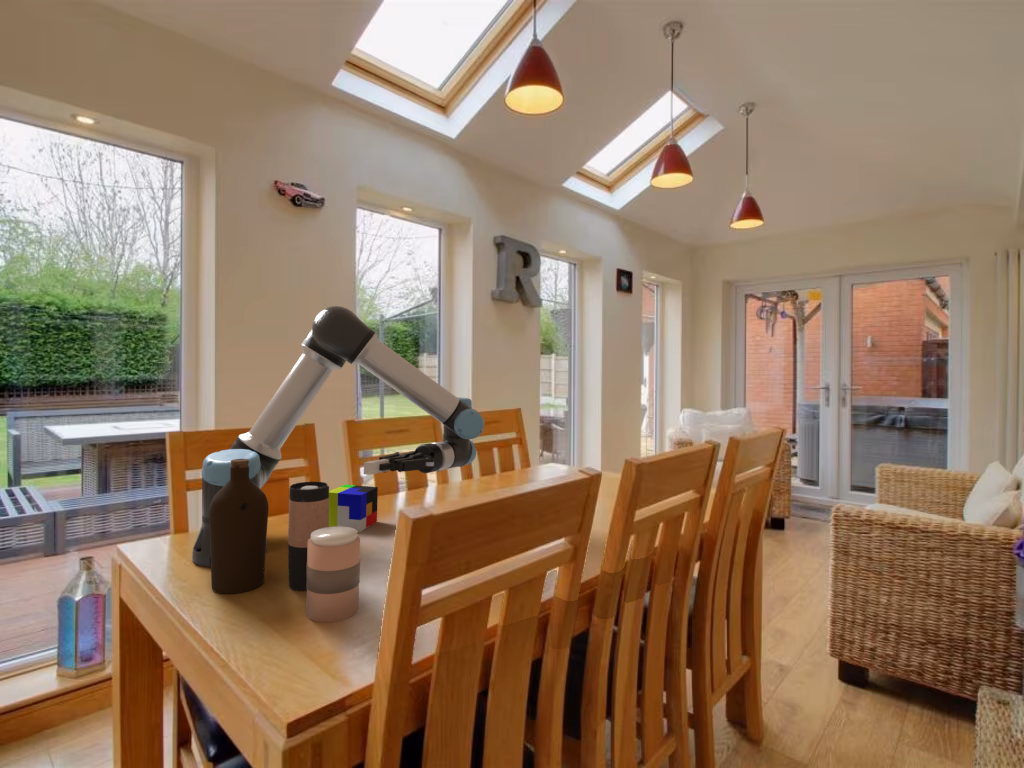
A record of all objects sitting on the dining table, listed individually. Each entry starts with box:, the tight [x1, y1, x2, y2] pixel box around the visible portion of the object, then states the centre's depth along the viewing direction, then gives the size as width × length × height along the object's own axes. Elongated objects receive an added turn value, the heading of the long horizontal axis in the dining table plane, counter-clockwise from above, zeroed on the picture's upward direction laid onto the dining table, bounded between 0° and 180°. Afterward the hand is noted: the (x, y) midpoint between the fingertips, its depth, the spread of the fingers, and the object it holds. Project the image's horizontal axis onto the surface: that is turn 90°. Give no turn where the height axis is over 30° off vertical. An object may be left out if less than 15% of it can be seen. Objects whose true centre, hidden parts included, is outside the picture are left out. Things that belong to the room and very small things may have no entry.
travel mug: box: [287, 481, 330, 592], centre depth 109 cm, size 8×8×20 cm
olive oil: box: [209, 459, 270, 595], centre depth 108 cm, size 11×11×25 cm
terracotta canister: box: [305, 526, 361, 623], centre depth 98 cm, size 9×9×14 cm
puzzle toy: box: [329, 484, 379, 533], centre depth 149 cm, size 10×10×10 cm
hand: (366, 468), depth 123 cm, fingers closed
